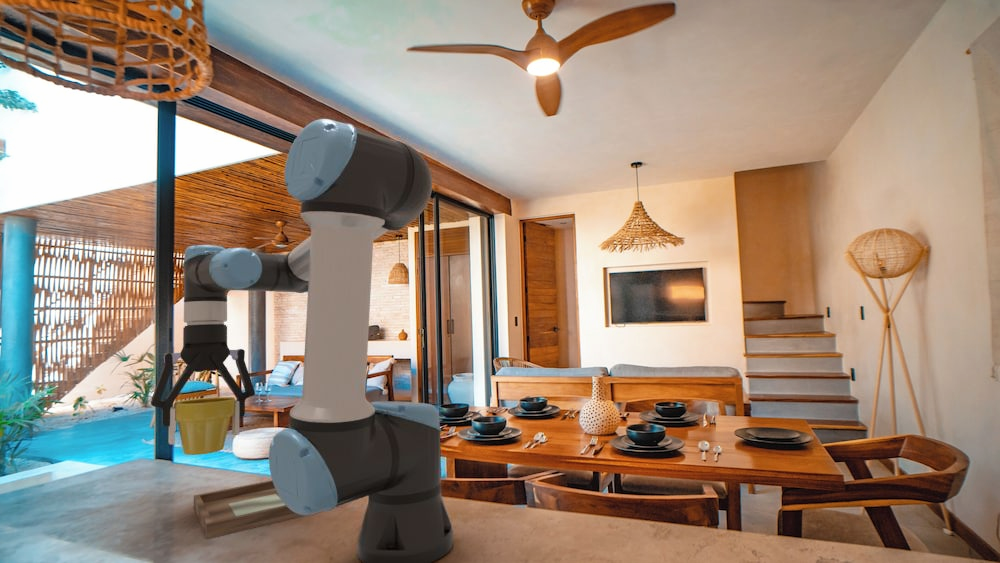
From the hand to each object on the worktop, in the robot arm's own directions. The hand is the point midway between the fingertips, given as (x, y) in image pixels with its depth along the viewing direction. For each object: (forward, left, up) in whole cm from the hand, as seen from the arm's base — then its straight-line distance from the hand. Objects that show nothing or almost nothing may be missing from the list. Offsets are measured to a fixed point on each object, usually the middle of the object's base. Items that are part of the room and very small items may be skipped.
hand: (204, 438), depth 99 cm
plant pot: (0, 0, -3) cm, 3 cm away
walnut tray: (-2, -9, -15) cm, 18 cm away
